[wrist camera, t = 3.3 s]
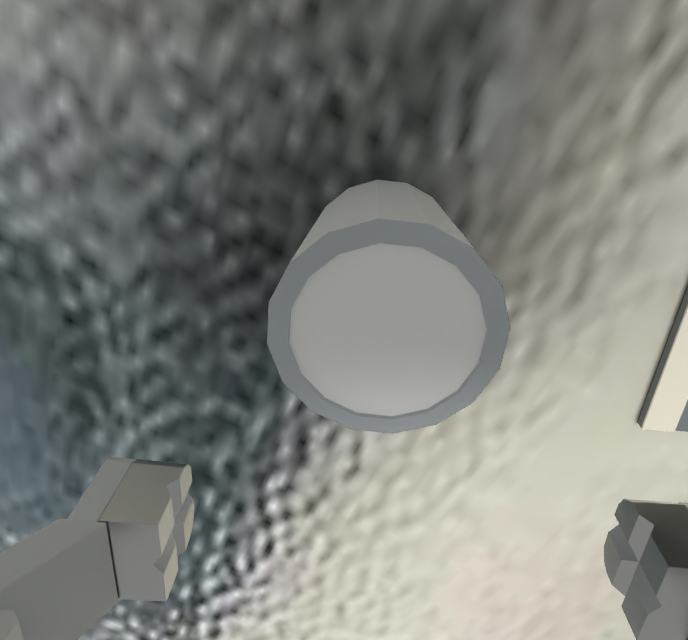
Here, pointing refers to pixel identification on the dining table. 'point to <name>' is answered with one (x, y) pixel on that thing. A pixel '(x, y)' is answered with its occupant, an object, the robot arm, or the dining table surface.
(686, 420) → the mat
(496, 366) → the shot glass
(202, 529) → the dining table surface
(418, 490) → the dining table surface
